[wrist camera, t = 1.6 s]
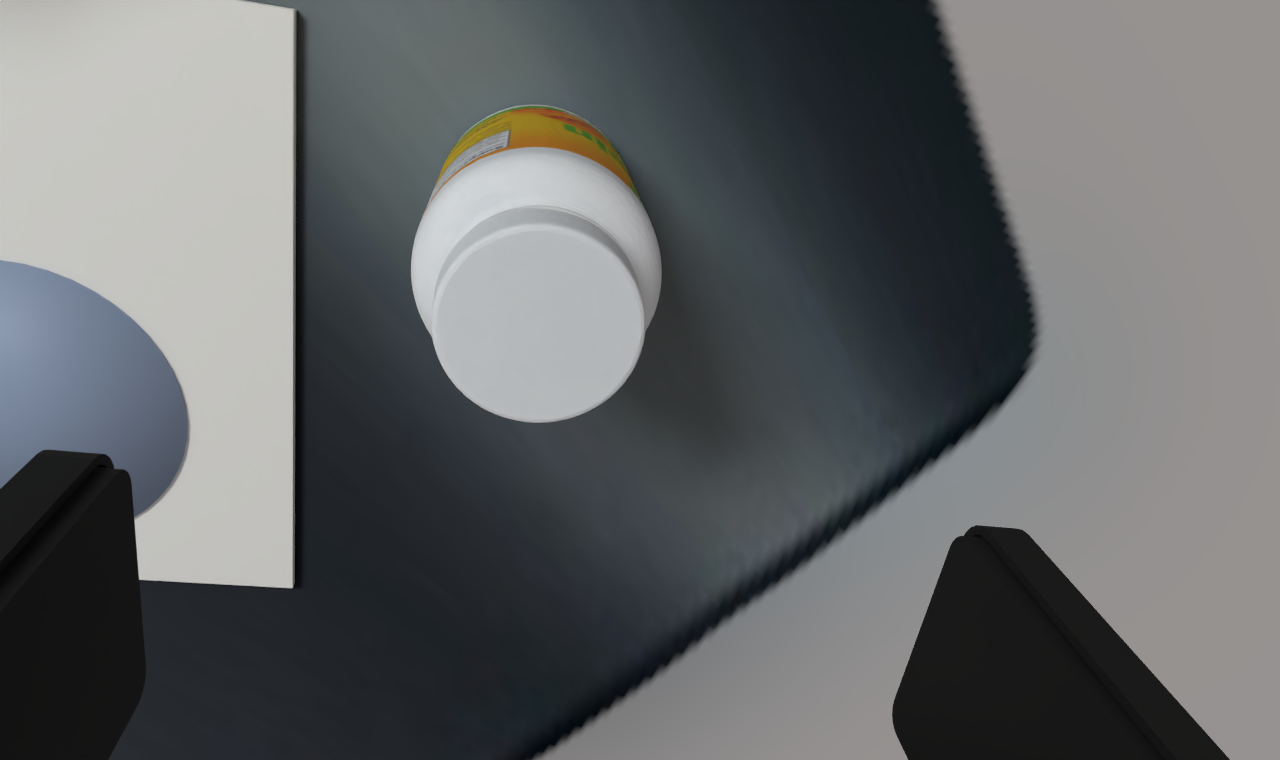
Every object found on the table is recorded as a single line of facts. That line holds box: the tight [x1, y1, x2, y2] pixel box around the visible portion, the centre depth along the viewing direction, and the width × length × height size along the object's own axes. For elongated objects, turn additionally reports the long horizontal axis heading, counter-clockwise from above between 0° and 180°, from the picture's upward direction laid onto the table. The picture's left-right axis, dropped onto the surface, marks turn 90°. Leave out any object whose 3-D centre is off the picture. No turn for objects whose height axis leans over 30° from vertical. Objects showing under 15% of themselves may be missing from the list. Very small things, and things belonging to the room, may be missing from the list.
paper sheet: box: [0, 0, 296, 588], centre depth 24 cm, size 18×13×1 cm
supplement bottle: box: [411, 105, 662, 423], centre depth 20 cm, size 5×5×10 cm
